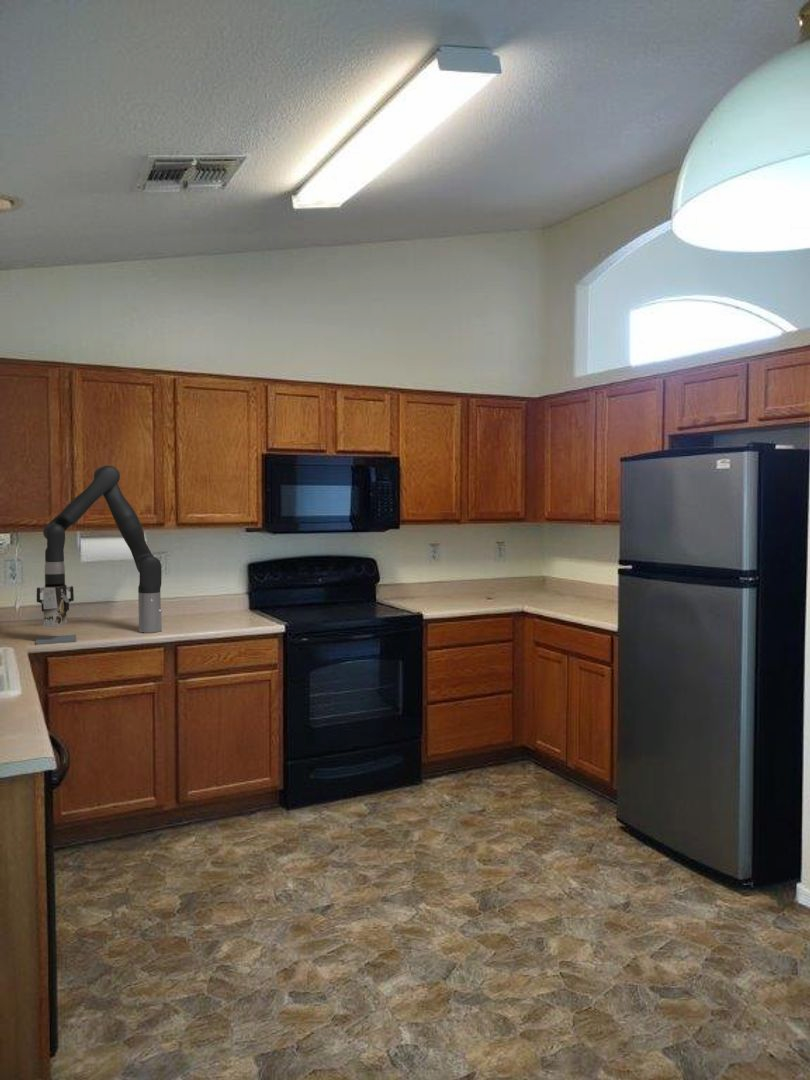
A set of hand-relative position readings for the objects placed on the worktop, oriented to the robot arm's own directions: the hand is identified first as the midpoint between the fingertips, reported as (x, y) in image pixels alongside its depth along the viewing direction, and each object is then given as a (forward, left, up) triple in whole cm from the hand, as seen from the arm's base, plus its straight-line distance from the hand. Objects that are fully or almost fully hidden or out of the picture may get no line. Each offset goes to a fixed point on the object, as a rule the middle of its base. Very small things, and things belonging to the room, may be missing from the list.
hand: (55, 612), depth 321 cm
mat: (0, 0, -12) cm, 12 cm away
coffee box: (0, 0, -5) cm, 5 cm away
